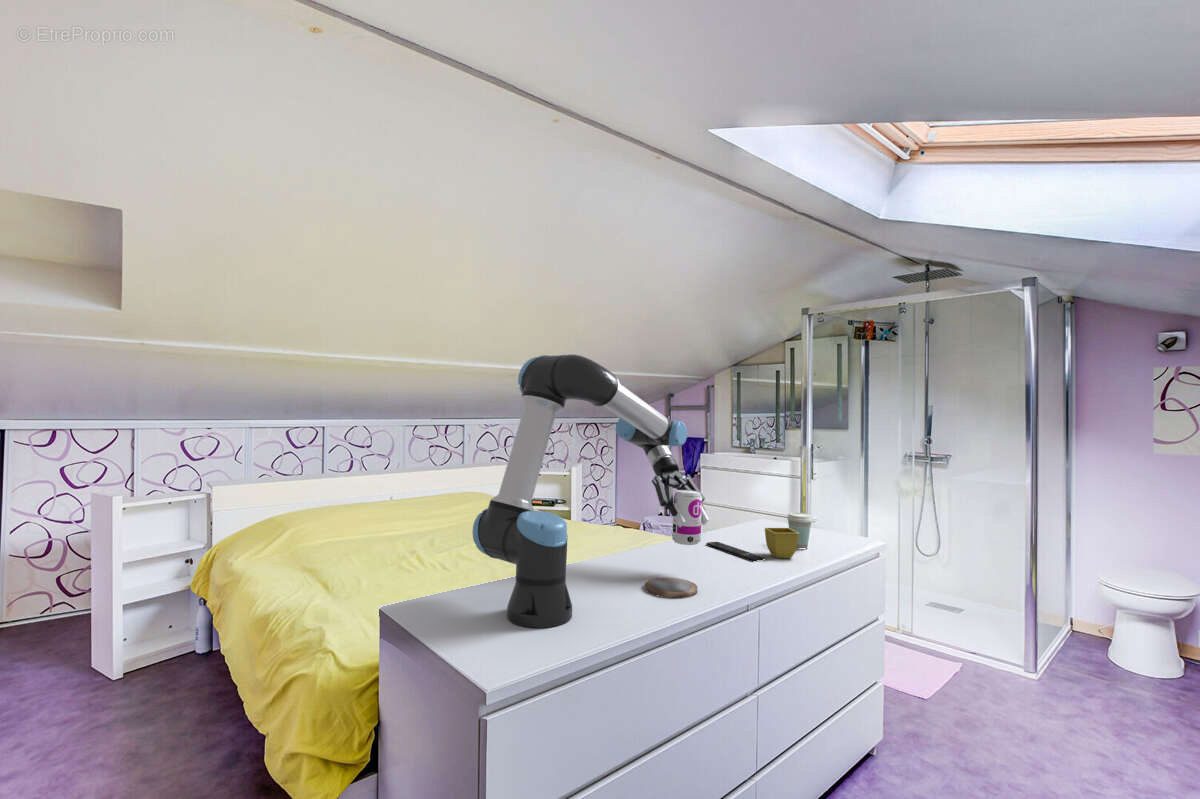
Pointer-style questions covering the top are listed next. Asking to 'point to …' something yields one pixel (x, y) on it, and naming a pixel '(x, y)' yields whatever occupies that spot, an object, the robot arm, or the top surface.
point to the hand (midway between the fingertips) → (694, 523)
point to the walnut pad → (671, 587)
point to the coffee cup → (800, 527)
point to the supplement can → (688, 517)
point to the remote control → (735, 551)
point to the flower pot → (781, 541)
